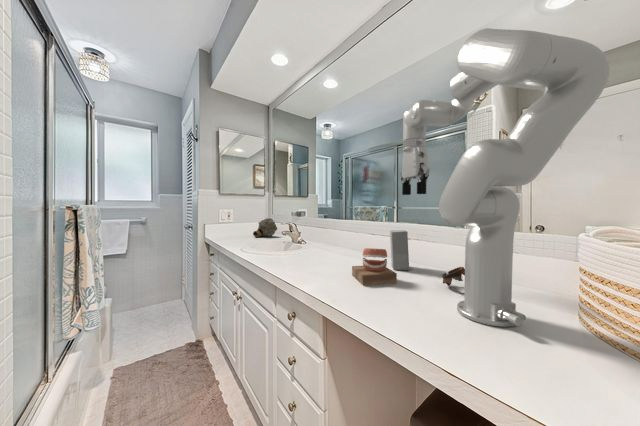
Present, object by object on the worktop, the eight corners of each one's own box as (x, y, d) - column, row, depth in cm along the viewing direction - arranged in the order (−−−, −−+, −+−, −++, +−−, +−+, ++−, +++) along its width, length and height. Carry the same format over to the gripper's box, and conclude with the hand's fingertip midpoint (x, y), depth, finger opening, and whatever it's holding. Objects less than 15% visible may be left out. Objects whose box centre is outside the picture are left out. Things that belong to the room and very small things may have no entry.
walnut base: (396, 285, 85) (396, 273, 85) (363, 287, 83) (363, 275, 82) (381, 274, 97) (381, 264, 96) (352, 276, 94) (352, 266, 94)
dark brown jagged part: (470, 300, 71) (454, 273, 73) (446, 303, 79) (432, 279, 82) (494, 283, 76) (478, 258, 78) (469, 288, 84) (456, 265, 86)
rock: (274, 215, 205) (259, 212, 194) (280, 229, 198) (265, 227, 186) (262, 229, 213) (247, 227, 202) (268, 242, 206) (252, 241, 194)
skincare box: (409, 271, 99) (409, 231, 99) (391, 270, 101) (391, 231, 100) (406, 265, 108) (406, 229, 107) (389, 265, 109) (389, 229, 108)
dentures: (361, 271, 87) (361, 248, 86) (362, 266, 94) (363, 245, 93) (387, 273, 85) (387, 250, 84) (386, 267, 92) (387, 246, 91)
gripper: (439, 140, 80) (438, 193, 81) (410, 151, 97) (410, 195, 98) (418, 139, 79) (417, 193, 80) (392, 150, 96) (392, 195, 97)
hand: (413, 194), depth 89 cm, fingers open, 9 cm apart
